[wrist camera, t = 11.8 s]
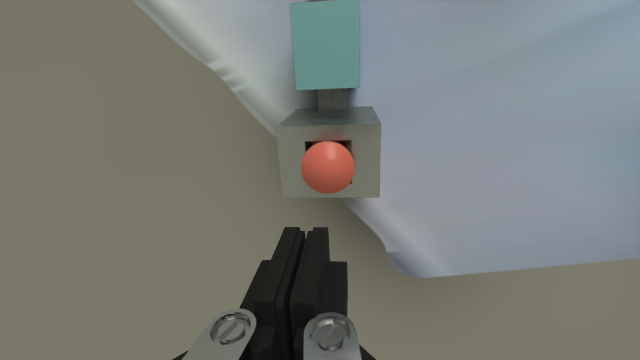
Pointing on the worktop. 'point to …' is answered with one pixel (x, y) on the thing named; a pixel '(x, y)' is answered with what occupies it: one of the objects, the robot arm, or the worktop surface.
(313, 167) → the knob
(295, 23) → the carriage
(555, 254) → the worktop surface
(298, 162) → the cabinet
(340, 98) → the rail
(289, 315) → the robot arm
